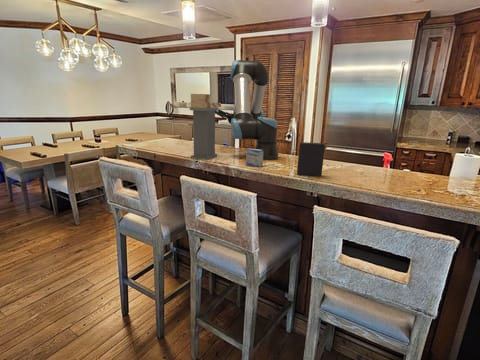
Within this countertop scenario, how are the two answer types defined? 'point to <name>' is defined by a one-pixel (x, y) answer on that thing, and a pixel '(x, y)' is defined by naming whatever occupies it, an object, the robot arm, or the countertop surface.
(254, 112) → the robot arm
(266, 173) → the countertop surface
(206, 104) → the mallet
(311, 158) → the dark upright panel
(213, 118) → the grey tall block
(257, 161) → the medicine box
